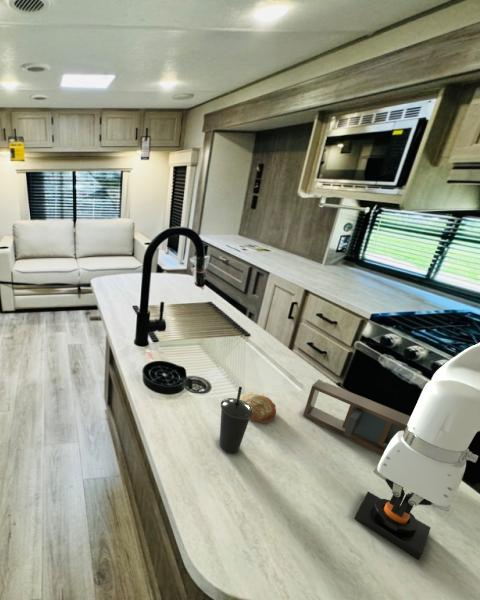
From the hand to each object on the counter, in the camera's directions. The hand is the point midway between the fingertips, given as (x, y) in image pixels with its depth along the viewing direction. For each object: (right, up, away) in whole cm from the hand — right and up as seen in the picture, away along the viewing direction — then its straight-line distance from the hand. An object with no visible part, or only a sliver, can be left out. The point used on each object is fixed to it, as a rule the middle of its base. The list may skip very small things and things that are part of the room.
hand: (397, 509), depth 64 cm
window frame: (+12, +5, +26) cm, 29 cm away
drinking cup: (-24, +2, +22) cm, 33 cm away
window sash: (+11, +5, +21) cm, 24 cm away
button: (0, -2, +1) cm, 2 cm away
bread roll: (-9, +8, +35) cm, 37 cm away
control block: (0, -5, +2) cm, 5 cm away
